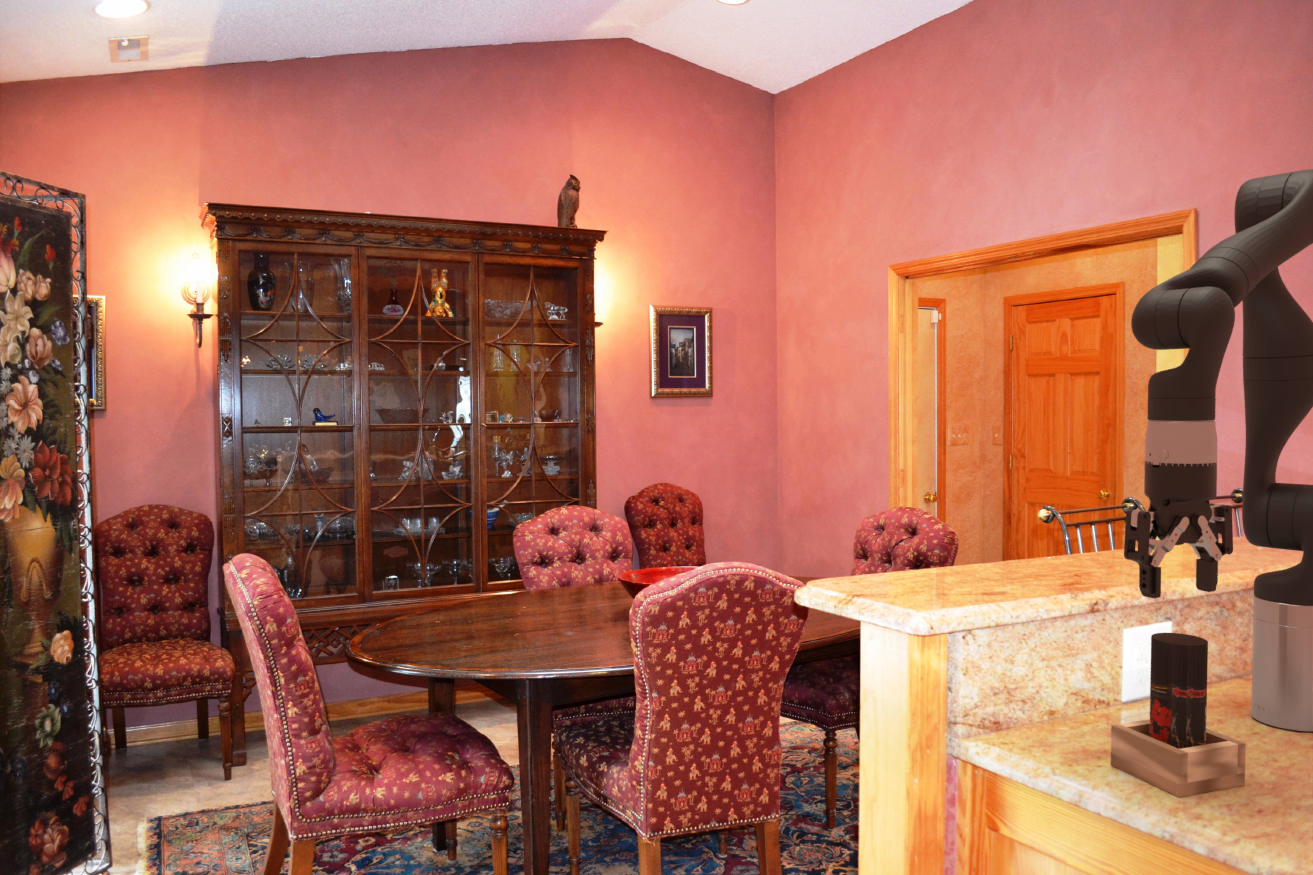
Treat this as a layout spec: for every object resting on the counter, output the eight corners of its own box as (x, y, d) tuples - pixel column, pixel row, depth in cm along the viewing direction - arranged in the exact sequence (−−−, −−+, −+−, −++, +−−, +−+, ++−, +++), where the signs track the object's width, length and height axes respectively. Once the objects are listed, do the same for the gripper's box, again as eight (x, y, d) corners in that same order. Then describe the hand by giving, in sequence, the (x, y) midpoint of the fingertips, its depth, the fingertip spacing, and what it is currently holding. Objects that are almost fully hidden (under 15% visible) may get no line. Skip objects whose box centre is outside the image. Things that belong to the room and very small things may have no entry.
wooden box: (1173, 754, 120) (1173, 715, 120) (1244, 784, 110) (1245, 742, 110) (1110, 764, 117) (1111, 724, 116) (1178, 797, 107) (1179, 753, 107)
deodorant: (1213, 773, 110) (1215, 646, 109) (1157, 769, 111) (1160, 644, 111) (1194, 754, 116) (1197, 633, 115) (1142, 751, 117) (1144, 631, 116)
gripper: (1198, 454, 118) (1197, 583, 118) (1108, 458, 113) (1106, 592, 114) (1254, 458, 110) (1251, 595, 111) (1159, 463, 106) (1157, 606, 107)
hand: (1178, 593), depth 113 cm, fingers open, 8 cm apart
